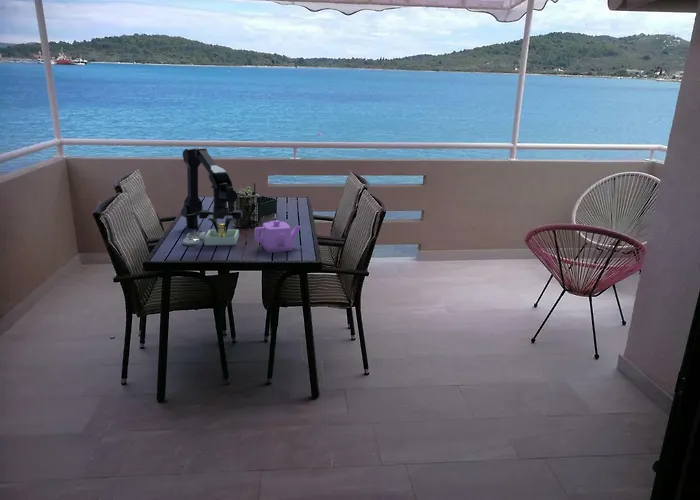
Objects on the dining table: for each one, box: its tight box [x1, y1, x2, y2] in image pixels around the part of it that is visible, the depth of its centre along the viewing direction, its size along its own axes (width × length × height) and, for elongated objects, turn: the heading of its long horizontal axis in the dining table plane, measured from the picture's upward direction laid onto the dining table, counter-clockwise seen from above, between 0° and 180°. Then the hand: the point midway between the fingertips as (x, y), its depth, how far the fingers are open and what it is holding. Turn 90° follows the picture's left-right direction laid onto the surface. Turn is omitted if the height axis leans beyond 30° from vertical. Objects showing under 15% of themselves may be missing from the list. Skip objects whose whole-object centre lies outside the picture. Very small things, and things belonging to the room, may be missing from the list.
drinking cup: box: [253, 183, 263, 222], centre depth 264 cm, size 8×8×20 cm
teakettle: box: [253, 219, 301, 253], centre depth 221 cm, size 17×17×12 cm
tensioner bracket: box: [182, 231, 207, 247], centre depth 229 cm, size 17×8×3 cm, turn 5°
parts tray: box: [203, 229, 240, 246], centre depth 229 cm, size 14×14×4 cm
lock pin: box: [217, 222, 226, 237], centre depth 228 cm, size 4×4×6 cm
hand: (221, 232), depth 229 cm, fingers closed on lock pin, 4 cm apart
